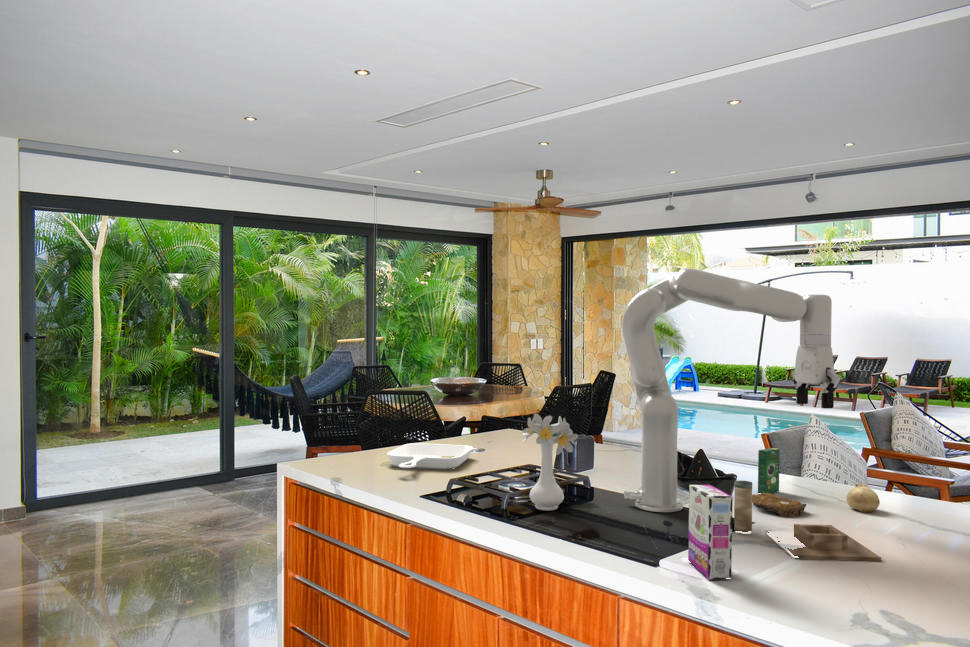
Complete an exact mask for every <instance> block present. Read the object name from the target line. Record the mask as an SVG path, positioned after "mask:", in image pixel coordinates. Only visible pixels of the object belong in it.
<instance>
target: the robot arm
mask: <svg viewBox="0 0 970 647" xmlns="http://www.w3.org/2000/svg"><path fill="white" fill-rule="evenodd" d="M688 301H692V302H695V303H700V304H704V305H708V306H711V307H716V308H719V309H724V310H727V311H732V312H733V311H735V312H747V313H748V312H749V313H753V314H759V315H763V316H768V317H771V318H772V320H775V321H776V322H779V323H780V322H781V323H788V322H789V323H792V322H796V321H799V345H798V346H797V350H796V356H795V364H794V370H793V371H792V372H791V376H792V382H793V383H794V384H793V385H794V389H795V390H796V404H797V405H807V404H809V389H807V388H808V386H809V385H813V386H815V385H816V386H818V385H819V386H820V388H821V390H822V392H821V394H820V395H821V399H820V400H821V403H820V405H821V409H834V403H835V402H834V401H835V398H834V396H835V395H834V394H835V393H836V392H837V390H836V389H838V387H839V384H840V380H841V376H840V375H838V374H837V373H836V372H835V365H834V364H835V363H834V354H833V348H832V310H833V309H832V306H833V305H832V298H831V296H829V295H827V294H804V295H803V296H802V295H800V294H799V293H796V292H794V291H789V290H786V289H781V288H776V287H773V286H769V285H764V284H759V283H754V282H750V281H746V280H741V279H736V278H732V277H730V276H729V277H728V276H725V275H724V276H723V275H720V274H715V273H712V272H708V271H703V270H700V269H695V268H689V267H687V268H683V269H680V270H679V271H677V272H676V273H674V274H673V275H671V276H669V277H667V278H666V279H664V280H662V281H659V282H658V283H656V284H654V285H652V286H649V287H647V288H643V289H642V290H640V291H639V292H638V293H637V294H635V296H634V297H633V298H632V299H631V300H630V302H629V303H628V304H627V306H626V308H625V310H624V314H623V316H622V317H623V318H622V324H621V325H622V327H621V328H622V329H621V330H622V335H623V340H624V344H625V348H626V352H627V355H628V356H627V357H628V359H629V363H630V365H629V371H630V377H631V380H632V384H633V387H634V391H635V395H636V397H637V402H638V404H639V408H640V411H641V442H640V443H641V457H640V458H641V462H640V463H641V473H640V474H641V477H640V478H641V479H640V480H641V483H640V484H641V486H640V487H638V489H635V491H631V490H623V498H624V499H629V500H635V502H634V503H635V504H634V505H635V507H637V508H638V509H640V510H644V511H647V512H656V513H674V512H675V513H676V512H680V511H681V510H683V509H684V503H682V502H681V501H679V500H678V431H679V430H678V427H679V414H680V413H679V406H678V403H677V400H676V399H675V398H674V397H673V396H672V393H671V389H670V386H669V382H668V377H667V374H666V373H667V369H666V364H665V362H664V360H663V357H662V354H661V351H660V348H659V344H658V340H657V337H656V333H655V323H656V320H657V318H659V317H660V316H662V315H663V314H664V313H667V312H669V311H670V310H673V309H675V308H677V307H678V306H681V305H683V304H684V303H686V302H688Z"/></svg>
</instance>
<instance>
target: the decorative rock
mask: <svg viewBox="0 0 970 647" xmlns="http://www.w3.org/2000/svg"><path fill="white" fill-rule="evenodd" d="M752 505H753V506H759V507H760V509H761V510H762V509H764V511H772V512H774V513H776V514H778V515H780V516H781V517H792V518H798V517H801V515H802V513H803V512H805V508H806V507H807V504H806V503H802V502H801V501H799V500H796V499H795V500H794V499H790V498H788V497H785V498H784V497H782V496H778V495H775V494H773V493H771V494H769V493H762V494H758V493H756V494H755V493H754V494H753V493H752Z"/></svg>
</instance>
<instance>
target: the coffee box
mask: <svg viewBox="0 0 970 647" xmlns="http://www.w3.org/2000/svg"><path fill="white" fill-rule="evenodd" d="M757 452H758V462H757V471H758V472H757V494H758V493H761V494H762V493H769V494H770V493H771V494H774V492H776V493H777V491H779V492H780V449H779V448H776V447H775V448H774V447H769V448H763V449H758V450H757Z"/></svg>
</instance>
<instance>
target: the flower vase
mask: <svg viewBox="0 0 970 647" xmlns="http://www.w3.org/2000/svg"><path fill="white" fill-rule="evenodd" d="M552 420H553V416H552V415H547V416H545V417H544V418H543V419H542V417H541V415H539V414H538V413H534V414H533V418H531V417H528V419H527V424H526V425H527V427H526V428H524V429H522V432H521V436H524V437H523V440H522V443H524V442H525V441H526V440H528V438H530V437H531V436H533V435H534V434H537V437H536V439H535V443H536V444H538V445H540V451H541V457H540V458H541V461H540V462H541V463H540V464H541V465H540V473H539V478H538V480H537V481H536V483H535V484H534V485H533V486H532V488H531V489H530V491H529V499H530V501H531V502H532V503H533V505H534V506H535V509H536V510H539V511H545V512H547V511H548V512H551V511H555V510H558V508H559V505H560V504H561V503H562V502H563V501H564V498H565V495H564V491H563V489H562V488H561V486H560V485H559V484H558V483H557V482H556V481H557V480H556V479H555V475H554V468H553V467H554V464H553V463H554V462H553V450H554V445H555V444H557V447H556V451H555V453H556V455H558V456H559V455H561V453H562V452H563V450H564V449H565V451H567V452H568V453H573V451H574V447H573V445H575V444H576V443H575V440H577V439H578V438H579V435H578V433H574V431H573V430H572V429H571V427H570V423H568V422H567V420H566V417H563V418H562V417H561V415H559V416H558V420H557V423H553V424H550V423H551V422H552Z"/></svg>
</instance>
